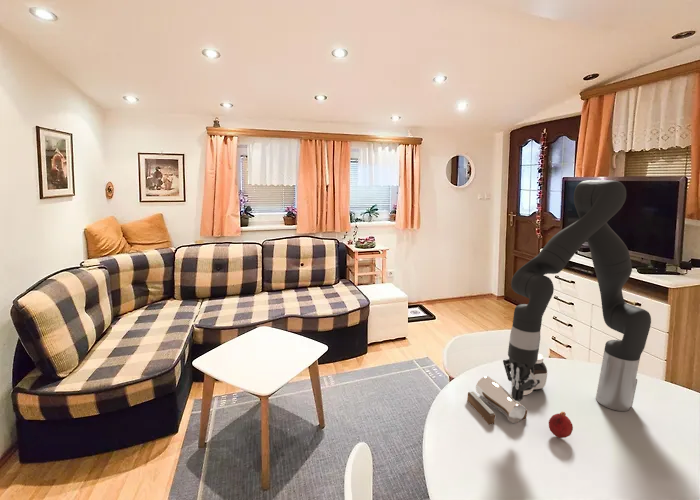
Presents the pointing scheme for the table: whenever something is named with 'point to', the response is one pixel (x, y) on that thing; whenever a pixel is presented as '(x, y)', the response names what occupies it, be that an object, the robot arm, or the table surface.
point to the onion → (560, 425)
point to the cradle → (484, 408)
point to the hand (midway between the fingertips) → (516, 399)
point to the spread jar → (539, 375)
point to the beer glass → (500, 399)
